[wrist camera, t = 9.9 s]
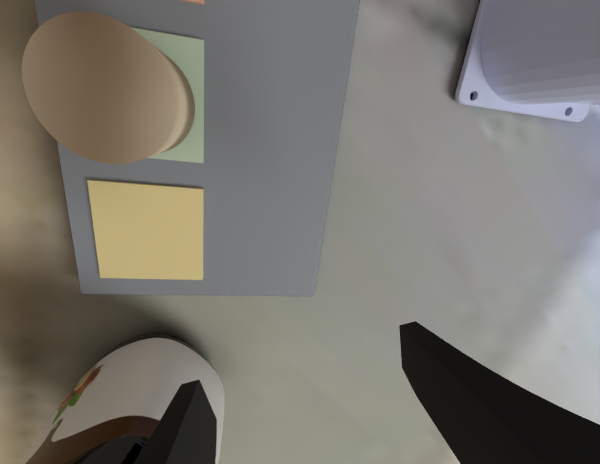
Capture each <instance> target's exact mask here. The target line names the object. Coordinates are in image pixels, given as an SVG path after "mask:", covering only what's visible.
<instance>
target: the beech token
mask: <svg viewBox="0 0 600 464" xmlns="http://www.w3.org/2000/svg"><path fill="white" fill-rule="evenodd" d="M22 80H23V86H24V90H25V94H26V97H27V99H28V102H29V104H30V106H31V108H32V110H33V112H34V114H35V116H36V117H37V119H38V120H39V122H40V123H41V124H42V125H43V127H44V128H45V129H46V130H47V131H48V132H49V133H50V134H51V135H52V136H53V137H54V138H55V139H56V140H57V141H58V142H59V143H61V144H62V145H63V146H65V147H66V148H68V149H69V150H71V151H72V152H74V153H76V154H78V155H80V156H82V157H84V158H87V159H89V160H93V161H96V162H100V163H106V164H127V163H132V162H136V161H139V160H142V159H145V158H148V157H151V156H153V155H156V154H159V153H162V152H165V151H168V150H170V149H172V148H174V147H176V146H177V145H179V144H180V143H181V142H182V141H183V140H184V139H185V138H186V136H187V135H188V133H189V132H190V130H191V127H192V125H193V121H194V117H195V101H194V96H193V92H192V89H191V86H190V84H189V82H188V80H187V78H186V76H185V75H184V73H183V72H182V71H181V69H180V68H179V67H178V66H177V65H176V64H175V63H174V62H173V61H172V60H171V59H170V58H169V57H168V56H166V55H165V54H164V53H163V52H161V51H160V50H159V49H157V48H156V47H155V46H154V45H152V44H151V43H150V42H149V41H147V40H146V39H145V38H143V37H142V36H141V35H140V34H138V33H137V32H136V31H134V30H133V29H131V28H130V27H129V26H127V25H125V24H123V23H122V22H120V21H118V20H116V19H113V18H111V17H108V16H105V15H101V14H98V13H92V12H70V13H64V14H61V15H58V16H55V17H53V18H51V19H50V20H48V21H46V22H45V23H43V24H42V25H41V26H40V27H39V28H38V29H37V30H36V31H35V32H34V33H33V35H32V36H31V38H30V40H29V41H28V43H27V46H26V48H25V51H24V55H23V60H22Z"/></svg>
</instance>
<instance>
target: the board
mask: <svg viewBox="0 0 600 464" xmlns="http://www.w3.org/2000/svg"><path fill="white" fill-rule="evenodd" d="M34 2H35V8H36V14H37V20H38V27H40V26H41V25H42V24H43V23H45V22H46V21H48V20H50V19H51V18H53V17H55V16H58V15H61V14H64V13H70V12H92V13H98V14H101V15H105V16H108V17H111V18H113V19H116V20H118V21H120V22H122V23H123V24H125V25H127V26H129V27H130V28H131V29H133V30H134V31H136V32H137V33H138V34H140V35H141V36H142V37H143V38H145V39H146V40H147V41H149V42H150V43H151V44H152V45H154V46H155V47H156V48H157V49H159V50H160V51H161V52H163V53H164V54H165V55H166V56H168V57H169V58H170V59H171V60H172V61H173V62H174V63H175V64H176V65H177V66H178V67H179V68H180V69H181V71H182V72H183V73H184V75H185V76H186V78H187V80H188V82H189V84H190V86H191V89H192V92H193V96H194V101H195V117H194V121H193V125H192V127H191V130H190V132H189V133H188V135H187V136H186V138H185V139H184V140H183V141H182V142H181V143H180V144H179V145H177V146H176V147H174V148H172V149H170V150H168V151H165V152H162V153H159V154H156V155H153V156H151V157H148V158H145V159H142V160H139V161H136V162H132V163H127V164H106V163H100V162H96V161H93V160H89V159H87V158H84V157H82V156H80V155H78V154H76V153H74V152H72V151H71V150H69V149H68V148H66V147H65V146H63V145H62V144H61V143H59V142H58V141H57V145H58V151H59V158H60V164H61V170H62V176H63V183H64V189H65V195H66V201H67V207H68V214H69V220H70V226H71V232H72V239H73V245H74V251H75V257H76V264H77V270H78V276H79V282H80V289H81V294H136V295H229V296H314V295H315V289H316V282H317V276H318V269H319V263H320V256H321V250H322V243H323V237H324V231H325V224H326V218H327V211H328V205H329V198H330V192H331V185H332V179H333V172H334V166H335V159H336V153H337V146H338V140H339V133H340V127H341V121H342V114H343V108H344V101H345V95H346V88H347V82H348V75H349V69H350V62H351V56H352V49H353V43H354V36H355V30H356V23H357V17H358V11H359V4H360V0H34Z"/></svg>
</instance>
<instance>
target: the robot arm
mask: <svg viewBox="0 0 600 464" xmlns="http://www.w3.org/2000/svg"><path fill="white" fill-rule="evenodd" d="M471 93H473V98H472V100H471V99H470V94H471ZM455 101H456V102H457V103H458V104H462V105H468V106H475V107H481V108H487V109H494V110H500V111H506V112H513V113H519V114H525V115H532V116H538V117H544V118H551V119H557V120H563V121H570V122H580V121H582V120H583V119H584V118H585V117H586V115H587V113H588V110H589V108H590V106H591V105H600V0H480V4H479V8H478V12H477V15H476V19H475V23H474V26H473V30H472V34H471V37H470V41H469V45H468V48H467V52H466V56H465V59H464V63H463V67H462V71H461V74H460V78H459V82H458V85H457V89H456V93H455ZM565 111H566V113H565ZM400 341H401V357H402V368H403V370H404V372H405V374H406V376H407V378H408V380H409V382H410V384H411V386H412V388H413V390H414V392H415V394H416V396H417V397H418V399H419V400H420V402H421V404H422V405H423V407H424V408H425V410H426V411H427V413H428V414H429V416H430V418H431V419H432V421H433V422H434V424H435V425H436V427H437V428H438V430H439V431H440V433H441V434H442V436H443V437H444V439H445V441H446V442H447V444H448V445H449V447H450V448H451V450H452V451H453V453H454V454H455V456H456V457H457V459H458V460H459V462H460V463H461V464H600V425H599V424H597V423H594V422H592V421H590V420H588V419H585V418H583V417H581V416H579V415H576V414H574V413H572V412H570V411H568V410H566V409H563V408H561V407H559V406H557V405H555V404H553V403H551V402H549V401H547V400H545V399H543V398H541V397H539V396H537V395H535V394H533V393H531V392H529V391H527V390H525V389H524V388H522V387H520V386H518V385H516V384H514V383H512V382H511V381H509V380H507V379H505V378H504V377H502V376H500V375H498V374H497V373H495V372H493V371H491V370H490V369H488V368H486V367H485V366H483V365H481V364H480V363H478V362H477V361H475V360H473V359H472V358H470V357H469V356H467V355H465V354H464V353H462V352H461V351H459V350H458V349H456V348H455V347H453V346H452V345H450V344H449V343H447V342H446V341H444V340H443V339H441V338H440V337H438V336H437V335H435V334H434V333H432V332H431V331H429V330H428V329H426V328H425V327H423V326H422V325H420V324H419V323H417V322H416V321H415V322H411V323H407V324H404V325H400ZM216 442H217V419H216V416H215V414H214V412H213V410H212V407H211V405H210V403H209V400H208V398H207V396H206V393H205V391H204V389H203V386H202V384H201V382H200V380H195V381H192V382H188V383H184V384H181V386H180V387H179V389H178V390H177V392H176V394H175V396H174V397H173V399H172V401H171V402H170V404H169V406H168V408H167V409H166V411H165V413H164V414H163V416H162V418H161V420H160V421H159V423H158V425H157V426H156V428H155V430H154V431H153V433H152V435H151V436H150V438H149V440H148V441H147V443H146V444H145V446H144V448H143V449H142V451H141V453H140V454H139V456H138V457H137V459H136V461H135V462H134V464H215V459H216Z"/></svg>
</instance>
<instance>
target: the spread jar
mask: <svg viewBox="0 0 600 464" xmlns="http://www.w3.org/2000/svg"><path fill="white" fill-rule="evenodd" d="M195 380H200V382H201V384H202V386H203V389H204V391H205V393H206V396H207V398H208V400H209V403H210V405H211V407H212V410H213V412H214V414H215V416H216V419H217V442H216V459H215V464H218V462H219V456H220V449H221V441H222V430H223V418H224V390H223V385H222V382H221V379H220V377H219V376H218V374H217V372H216V371H215V369H214V368H213V366H212V365H211V364H210V362H209V361H208V360H207V359H206V358H205V357H204V356H203V355H202V354H201V353H200V352H198V351H197V350H196V349H195V348H193V347H192V346H190V345H189V344H187V343H185V342H183V341H181V340H179V339H176V338H174V337H170V336H166V335H146V336H141V337H137V338H134V339H131V340H129V341H126V342H124V343H122V344H120V345H119V346H117V347H115V348H114V349H113V350H111V351H110V352H109V353H107V354H106V355H105V356H104V357H102V358H101V359H100V360H99V361H98V362H97V363H96V364H95V365H94V366H93V367H92V368H91V369H90V370H89V371H88V372H87V373H86V374H85V375H84V376H83V377H82V378H81V379H80V380H79V381H78V383H77V384H76V385H75V386H74V387H73V389H72V390H71V391H70V392H69V393H68V395H67V396H66V397H65V398H64V400H63V401H62V402H61V404H60V405H59V406H58V408H57V409H56V410H55V412H54V413H53V414H52V416H51V417H50V419H49V420H48V422H47V423H46V425H45V426H44V427H43V429H42V430H41V432H40V433H39V435H38V436H37V438H36V439H35V441H34V442H33V444H32V445H31V447H30V448H29V450H28V451H27V453H26V454H25V456H24V457H23V458H22V460H21V461H20V463H19V464H134V462H135V461H136V459H137V457H138V456H139V454H140V453H141V451H142V449H143V448H144V446H145V444H146V443H147V441H148V440H149V438H150V436H151V435H152V433H153V431H154V430H155V428H156V426H157V425H158V423H159V421H160V420H161V418H162V416H163V414H164V413H165V411H166V409H167V408H168V406H169V404H170V402H171V401H172V399H173V397H174V396H175V394H176V392H177V390H178V389H179V387H180V386H181V384H184V383H188V382H192V381H195Z"/></svg>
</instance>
